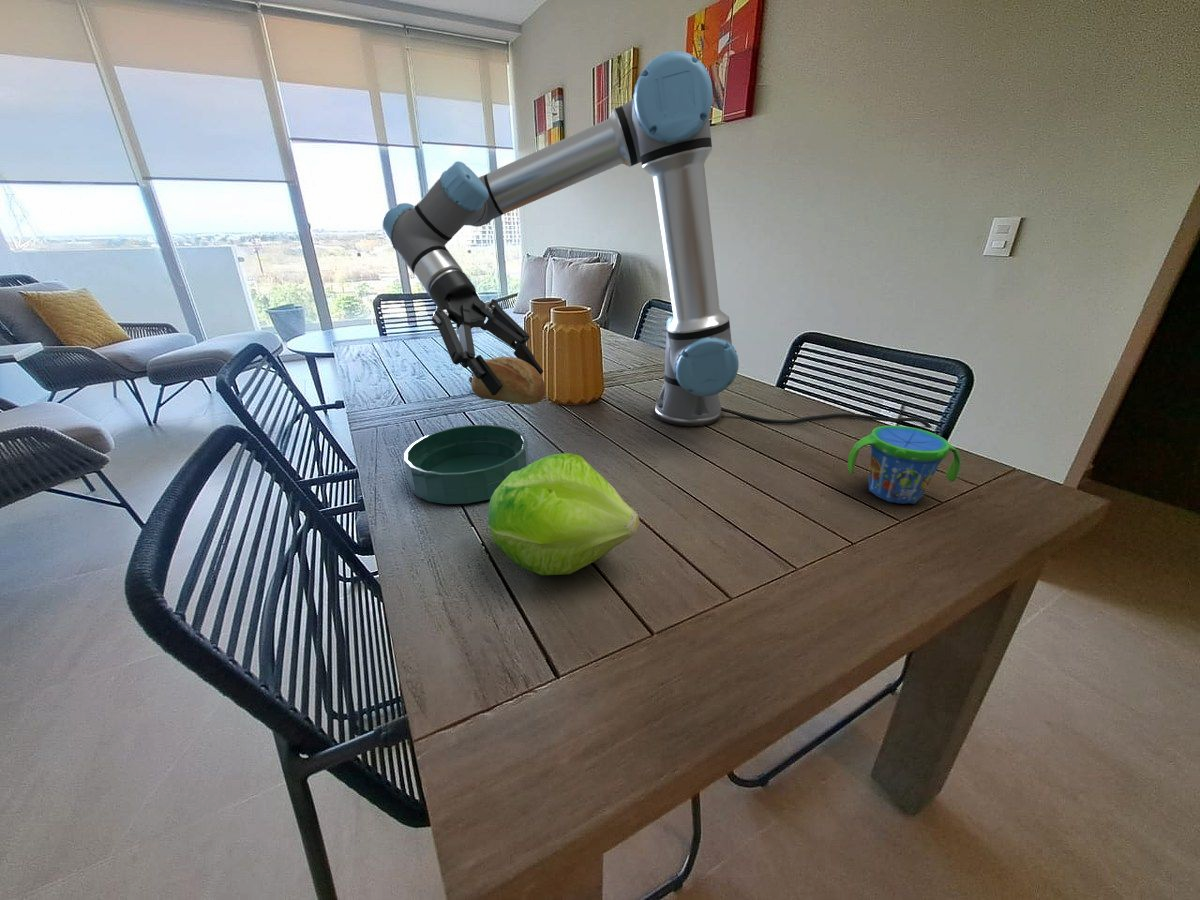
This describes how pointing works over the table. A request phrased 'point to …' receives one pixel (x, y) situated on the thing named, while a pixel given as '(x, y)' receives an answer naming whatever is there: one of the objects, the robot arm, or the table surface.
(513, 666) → the table surface
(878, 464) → the snack cup
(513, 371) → the bread roll
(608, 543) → the lettuce
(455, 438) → the bowl
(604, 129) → the robot arm
